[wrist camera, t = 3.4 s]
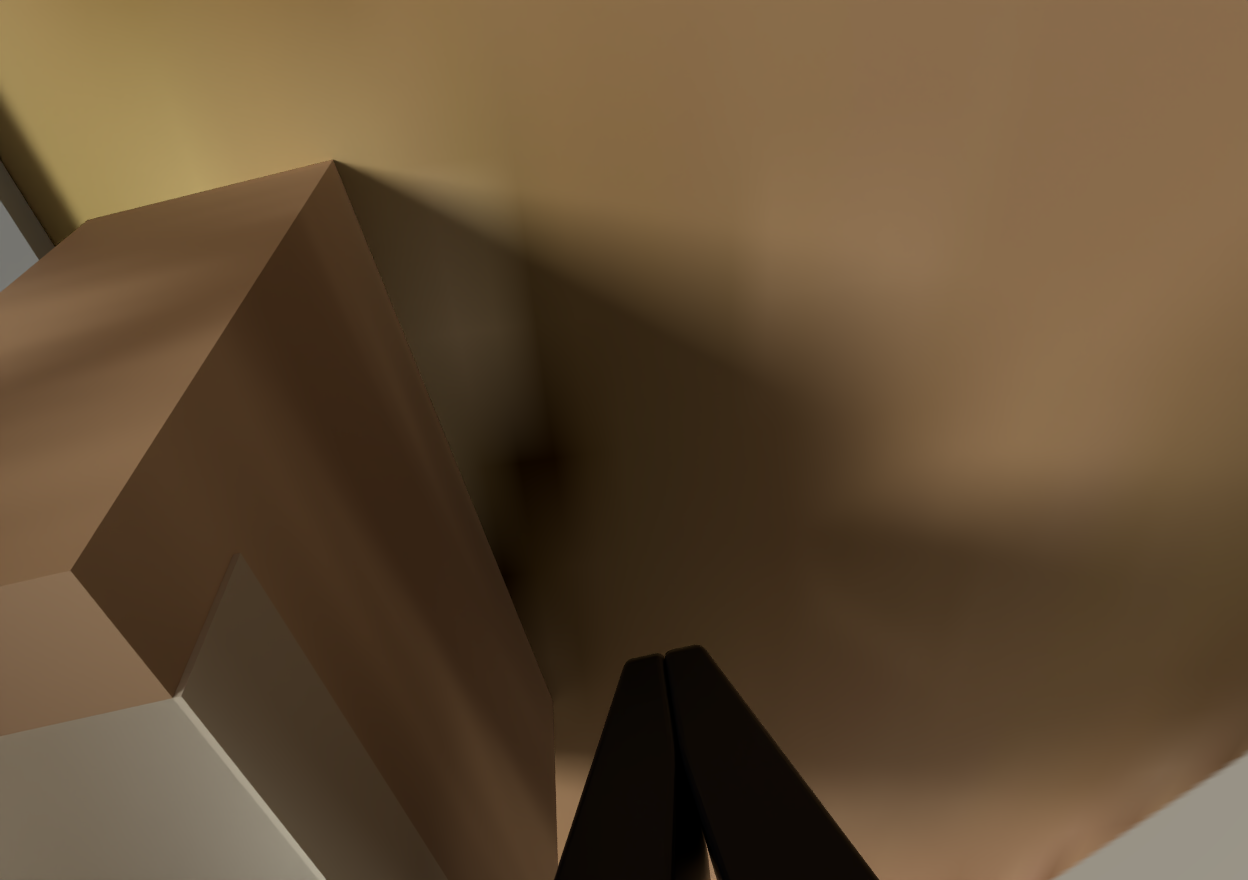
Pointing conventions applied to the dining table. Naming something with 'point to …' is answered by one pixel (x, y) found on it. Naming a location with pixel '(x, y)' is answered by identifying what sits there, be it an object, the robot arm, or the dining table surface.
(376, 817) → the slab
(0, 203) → the mat
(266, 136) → the dining table surface
